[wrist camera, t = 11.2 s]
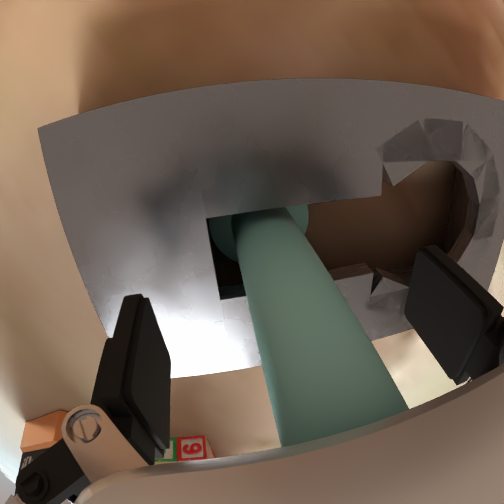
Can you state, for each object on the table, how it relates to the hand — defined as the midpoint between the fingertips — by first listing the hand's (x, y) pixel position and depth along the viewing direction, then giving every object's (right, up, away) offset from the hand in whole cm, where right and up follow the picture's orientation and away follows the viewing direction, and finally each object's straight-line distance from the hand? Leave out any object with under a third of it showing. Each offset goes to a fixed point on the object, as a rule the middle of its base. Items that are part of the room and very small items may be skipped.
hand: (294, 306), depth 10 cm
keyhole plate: (+2, +4, +7) cm, 9 cm away
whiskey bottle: (-21, -19, +17) cm, 33 cm away
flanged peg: (-1, +4, +7) cm, 8 cm away
